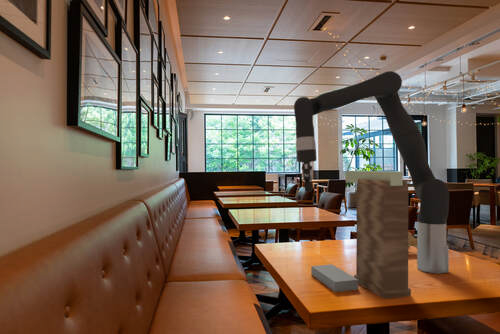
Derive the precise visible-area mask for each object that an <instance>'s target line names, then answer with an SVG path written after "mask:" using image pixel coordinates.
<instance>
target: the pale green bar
mask: <svg viewBox="0 0 500 334" xmlns="http://www.w3.org/2000/svg"><path fill="white" fill-rule="evenodd" d="M403 174H404V172H403V171H390V170H389V171H387V170H386V171H384V170H383V171H381V170H379V171H378V170H345V183H353V184H354V183H355V184H357V183H358V179H371V180H388V181H389V186H403V180H404V178H403V177H404V175H403Z"/></svg>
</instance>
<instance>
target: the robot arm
mask: <svg viewBox="0 0 500 334" xmlns="http://www.w3.org/2000/svg"><path fill="white" fill-rule="evenodd" d="M402 85H403V80H402V77H401V76H400V74H399V73H398V72H396V71H392V70H388V71H387V70H386V71H384V72H381V73H379V74H377V75H375V76H373V77H371V78H368V79H365V80H364V81H360V82H358V83H354V84H351V85H347V86H344V87H340V88H336V89H332V90H328V91H324V92H322V93H320V94H318V95H317V96H315V97H311V98H309V97H307V96H300V97H297V99H296V100H295V101H294V105H293V109H294V118H295V139H296V140H295V149H296V162H297V163H302V166H301V172H302V179H303V182H304V192H305V193H310V192H312V190H313V183H312V182H313V176H314V175H313V171H314V169H313V167H314V166H312V165H311V163H314V162H317V145H316V137H315V127H314V116H316V115H318V114H320V113H323V112H328V111H331V110H332V111H333V110H336V109H339V108H342V107H344V106H347V105H350V104H353V103H355V102H358V101H361V100H363V99H368V98H372V97H373V98H375V100H376V102H377V103H378V106H379V107H380V109H381V110H382V112H383V114H384V117H385V120H386V123H387V125H388V128H389V130H390V134H391V136H392V138H393V141H394V144H395V145H396V148H397V150H398V152H399V154H400V156H401V159H402V160H403V162H404V165H405V166H406V168H407V171H408V173H409V175H410V179H411V182H412V186H413V189H414V193H415V195H416V197H418V199H419V200H420V201H419V203H420V204H419V212H418V213H417V219H416V220H417V222H416V223H417V224H416V226H417V229H416V230H417V232H416V235H417V236H416V237H417V238H416V239H417V245H416V246H417V247H416V251H417V256H416V257H417V258H416V259H417V261H416V263H417V264H416V265H417V267H416V268H417V269H418V270H420V271H421V272H426V273H430V274H445V273H447V274H449V273H450V272H449V270H450V268H449V265H450V262H449V260H450V259H449V257H450V256H449V254H450V252H449V249H450V247H449V245H448V244H447V219H448V216H449V210H450V209H449V208H450V207H449V206H450V191H449V186H448V185H447V183H446V182H445V181H443V180H442V179H439V178H436V177H435V174H434V173H433V171H432V169H431V167H430V164H429V162H428V155H427V148H426V143H425V139H424V137H423V135H422V133H421V130H420V128H419V126H418V124H417V123H416V121H415V119H413V117H412V116H411V115H410V114H409V112H408V111H407V110H406V109H405V107H404V105H403V103H402V101H401V98H400V96H399V95H400V94H399V91H400V89H401V87H402Z"/></svg>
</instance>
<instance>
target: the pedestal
mask: <svg viewBox="0 0 500 334" xmlns="http://www.w3.org/2000/svg"><path fill="white" fill-rule="evenodd" d="M408 231H409V185H408V180H406V179H403V186H389V181H388V180H371V179H358V183H356V243H355V244H356V254H355V255H356V256H355V257H356V259H355V261H356V265H355V266H356V272H355V273H356V274H354V276H353V277H355V278H357V279H358V285H360V286H362V287H364V288H365V289H367V290H369V291H370V292H371V293H374V294H375V295H377V296H378V297H381V298H382V299H383V300H388V299H394V298H395V299H396V298H397V299H398V298H403V297H412V296H411V295H412V289H411V288H410V287H409V248H408Z"/></svg>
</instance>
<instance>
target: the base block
mask: <svg viewBox="0 0 500 334" xmlns="http://www.w3.org/2000/svg"><path fill="white" fill-rule="evenodd" d="M310 269H311V276H312V275H313V276H312V277H314V278H315V279H317V280H318V281H319V282H321V283H322V284H324V285H325V286H326V287H327V288H329V289H330V290H332V291H333V292H334V293H339V292H349V291H356V290H357V291H358V290H359V284H358V279H357V278H355V277H354V276H353V275H351V274H349V273H348V272H346V271H344V270H342V269H341V268H340V267H337V266H336V265H334V264H332V263H331V264H321V265H311V268H310Z"/></svg>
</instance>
